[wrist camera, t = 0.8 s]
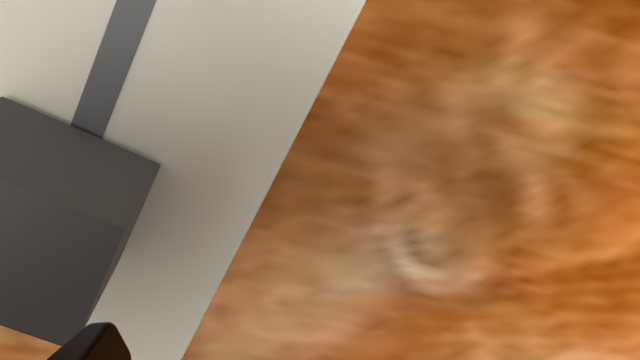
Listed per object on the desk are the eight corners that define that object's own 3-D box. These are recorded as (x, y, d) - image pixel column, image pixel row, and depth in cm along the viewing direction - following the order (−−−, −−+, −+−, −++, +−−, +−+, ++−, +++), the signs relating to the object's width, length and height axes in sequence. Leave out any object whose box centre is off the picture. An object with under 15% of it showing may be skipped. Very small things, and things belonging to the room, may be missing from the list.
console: (185, 327, 25) (172, 377, 22) (-109, 218, 22) (-167, 259, 19) (457, -210, 18) (489, -239, 15) (76, -460, 15) (28, -552, 12)
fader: (117, 263, 20) (73, 350, 16) (-33, 206, 19) (-125, 282, 14) (161, 164, 18) (125, 229, 14) (2, 96, 17) (-88, 144, 13)
